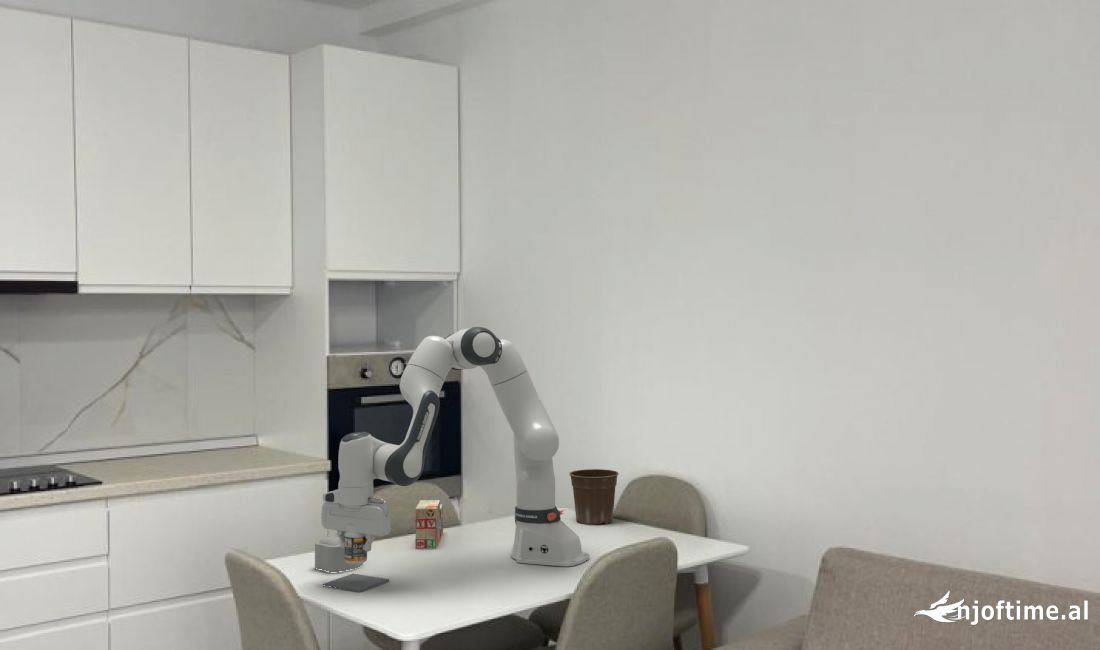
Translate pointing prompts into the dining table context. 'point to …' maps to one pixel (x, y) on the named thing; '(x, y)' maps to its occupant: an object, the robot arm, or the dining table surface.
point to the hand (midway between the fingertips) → (355, 549)
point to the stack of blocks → (428, 524)
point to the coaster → (356, 582)
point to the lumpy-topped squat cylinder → (331, 555)
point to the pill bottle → (354, 546)
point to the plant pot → (594, 495)
